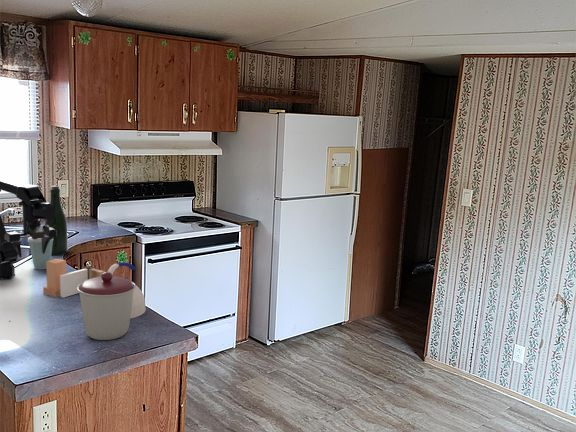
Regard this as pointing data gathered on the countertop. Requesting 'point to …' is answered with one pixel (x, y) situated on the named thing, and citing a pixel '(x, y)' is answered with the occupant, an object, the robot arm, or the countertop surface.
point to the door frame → (93, 272)
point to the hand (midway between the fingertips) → (32, 255)
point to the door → (72, 282)
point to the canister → (106, 306)
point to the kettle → (138, 296)
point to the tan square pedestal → (54, 276)
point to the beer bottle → (58, 223)
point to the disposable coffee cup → (40, 253)
